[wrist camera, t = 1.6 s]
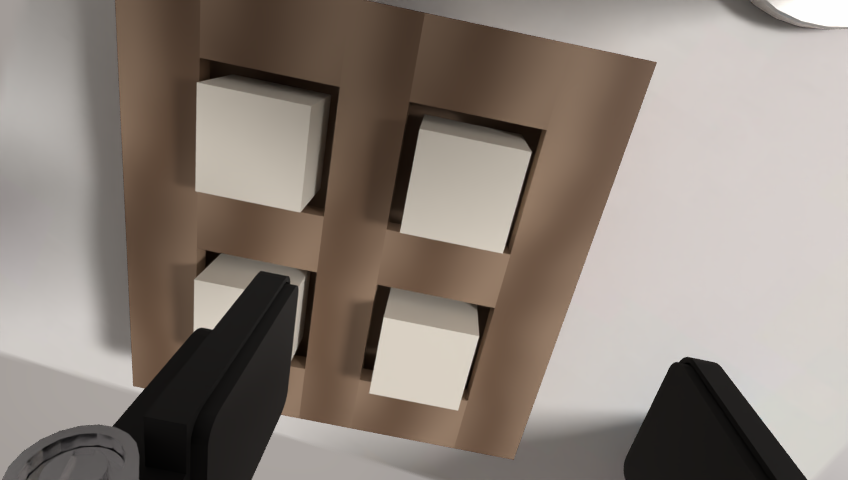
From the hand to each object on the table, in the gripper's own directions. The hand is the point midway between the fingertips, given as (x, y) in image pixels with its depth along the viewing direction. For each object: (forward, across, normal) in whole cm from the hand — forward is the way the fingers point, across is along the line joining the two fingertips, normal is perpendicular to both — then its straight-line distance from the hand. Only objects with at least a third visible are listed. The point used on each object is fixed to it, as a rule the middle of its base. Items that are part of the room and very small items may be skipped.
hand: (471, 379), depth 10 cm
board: (+18, +4, +5) cm, 19 cm away
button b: (+16, +9, +9) cm, 20 cm away
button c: (+16, +9, 0) cm, 18 cm away
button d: (+16, 0, +9) cm, 18 cm away
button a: (+16, 0, 0) cm, 16 cm away
